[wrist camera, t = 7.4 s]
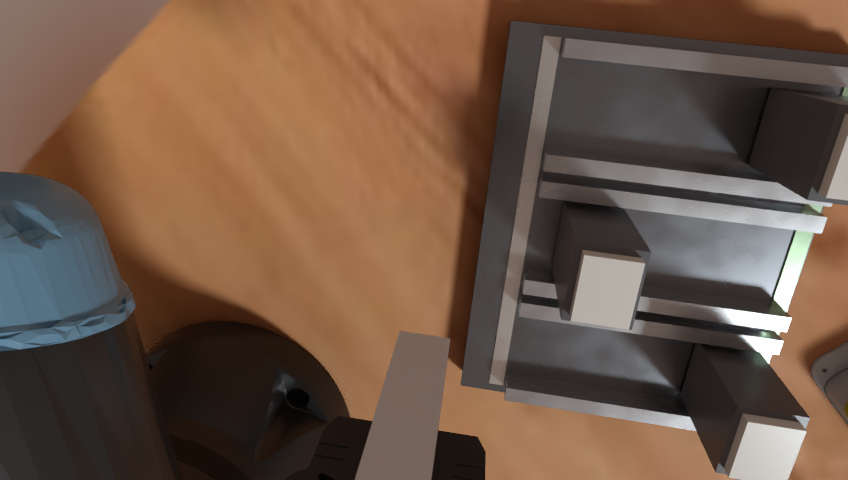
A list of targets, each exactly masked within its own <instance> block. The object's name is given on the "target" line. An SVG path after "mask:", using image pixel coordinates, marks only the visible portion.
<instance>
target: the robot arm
mask: <svg viewBox="0 0 848 480" xmlns="http://www.w3.org/2000/svg"><path fill="white" fill-rule="evenodd" d="M135 307H136V304H135V301H134V297H133V293H131V292H130V288H129V286H128V285H127V283H126V282H125V281H124V280H123V279H122V278H121V276H120V273H119V270H118V267H117V265H116V262H115V259H114V256H113V254H112V251H111V248H110V245H109V243H108V240H107V237H106V234H105V232H104V229H103V226H102V223H101V221H100V218H99V216H98V214H97V212H96V211H95V209H94V208H93V206H92V205H91V204H90V203H89V201H88V200H87V199H86V198H85V197H83V196H82V195H81V194H80V193H78V192H77V191H76V190H74V189H72V188H71V187H69V186H67V185H65V184H63V183H61V182H58V181H56V180H52V179H49V178H45V177H41V176H36V175H30V174H22V173H11V172H0V480H485V453H486V452H485V450H484V448H483V447H482V445H481V443H480V441H479V439H478V437H475V436H469V435H463V434H457V433H450V432H444V431H438V427H439V419H440V412H441V405H442V397H443V390H444V383H445V375H446V368H447V360H448V353H449V346H450V338H443V337H437V336H430V335H424V334H417V333H410V332H404V331H400V333H399V336H398V339H397V343H396V346H395V349H394V352H393V356H392V359H391V362H390V366H389V369H388V372H387V375H386V379H385V382H384V385H383V388H382V392H381V395H380V398H379V402H378V405H377V408H376V411H375V415H374V418H373V421H368V420H362V419H355V418H350V416H349V412H348V409H347V406H346V404H345V401H344V399H343V397H342V395H341V393H340V391H339V389H338V388H337V386H336V384H335V383H334V381H333V380H332V379H331V377H330V376H329V375H328V373H327V372H326V371H325V370H324V369H323V368H322V367H321V366H320V364H319V363H318V362H316V361H315V360H314V359H313V358H312V357H311V356H310V355H309V354H307V353H306V352H305V351H304V350H302V349H301V348H300V347H298V346H297V345H295V344H293V343H292V342H290V341H289V340H287V339H285V338H283V337H281V336H279V335H277V334H275V333H272V332H270V331H267V330H265V329H262V328H259V327H255V326H252V325H247V324H242V323H236V322H223V321H221V322H205V323H199V324H194V325H190V326H187V327H184V328H182V329H179V330H177V331H175V332H173V333H171V334H169V335H168V336H166V337H165V338H163V339H162V340H161V341H160V342H158V343H157V344H156V345H155V346H154V347H153V348H152V349H151V350H149V351H148V352H147V353H146V354H145V351H144V348H143V344H142V341H141V338H140V334H139V331H138V327H137V324H136V321H135V317H134V314H133V311H134V309H135Z"/></svg>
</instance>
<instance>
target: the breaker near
mask: <svg viewBox="0 0 848 480" xmlns="http://www.w3.org/2000/svg"><path fill="white" fill-rule="evenodd" d="M748 165H749V166H750V167H752V168H754V169H755V170H757V171H759V172H760V173H762V174H764V175H766V176H767V177H769V178H771V179H772V180H774V181H776V182H777V183H779V184H781V185H782V186H784V187H786V188H787V189H789V190H791V191H793V192H794V193H796V194H798V195H799V196H801V197H803V198H804V199H806V200H810V201H818V202H826V203H834V204H842V205H848V97H847V96H843V95H835V94H826V93H817V92H807V91H798V90H789V89H780V88H771V89H770V93H769V96H768V100H767V103H766V106H765V110H764V113H763V117H762V120H761V123H760V127H759V130H758V133H757V137H756V140H755V144H754V147H753V150H752V154H751V157H750V161H749V164H748Z"/></svg>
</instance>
